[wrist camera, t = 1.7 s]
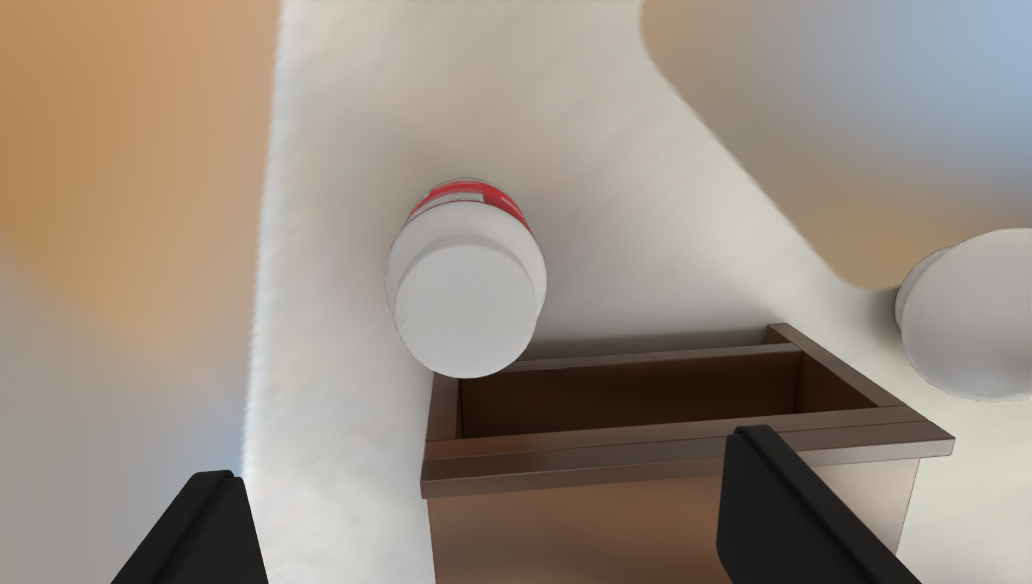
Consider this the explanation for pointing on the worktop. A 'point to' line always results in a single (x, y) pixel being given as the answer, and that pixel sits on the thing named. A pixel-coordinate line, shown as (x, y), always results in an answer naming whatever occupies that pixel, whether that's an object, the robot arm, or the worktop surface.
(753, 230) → the worktop surface
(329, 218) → the worktop surface
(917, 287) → the flower vase
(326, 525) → the worktop surface
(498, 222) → the pill bottle
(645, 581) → the box
